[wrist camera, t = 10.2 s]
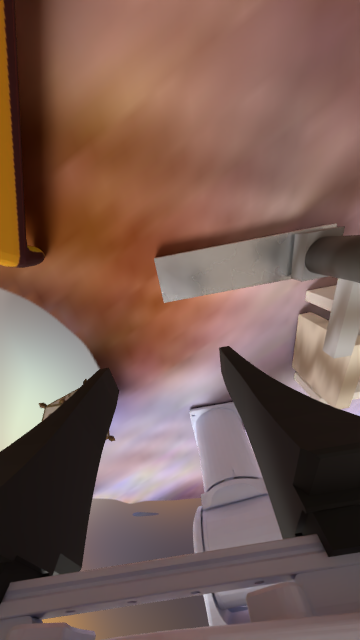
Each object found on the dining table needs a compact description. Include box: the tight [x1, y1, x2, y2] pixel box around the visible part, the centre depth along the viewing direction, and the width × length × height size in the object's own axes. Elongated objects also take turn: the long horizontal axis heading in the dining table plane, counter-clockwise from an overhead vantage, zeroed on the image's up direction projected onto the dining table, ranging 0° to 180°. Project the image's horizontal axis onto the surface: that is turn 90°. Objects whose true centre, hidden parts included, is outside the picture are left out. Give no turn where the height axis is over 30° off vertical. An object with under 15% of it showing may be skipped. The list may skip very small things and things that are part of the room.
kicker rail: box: [154, 223, 337, 303], centre depth 17 cm, size 4×17×1 cm, turn 100°
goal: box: [294, 285, 360, 404], centre depth 19 cm, size 13×9×6 cm
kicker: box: [291, 226, 360, 409], centre depth 16 cm, size 17×4×9 cm, turn 10°
